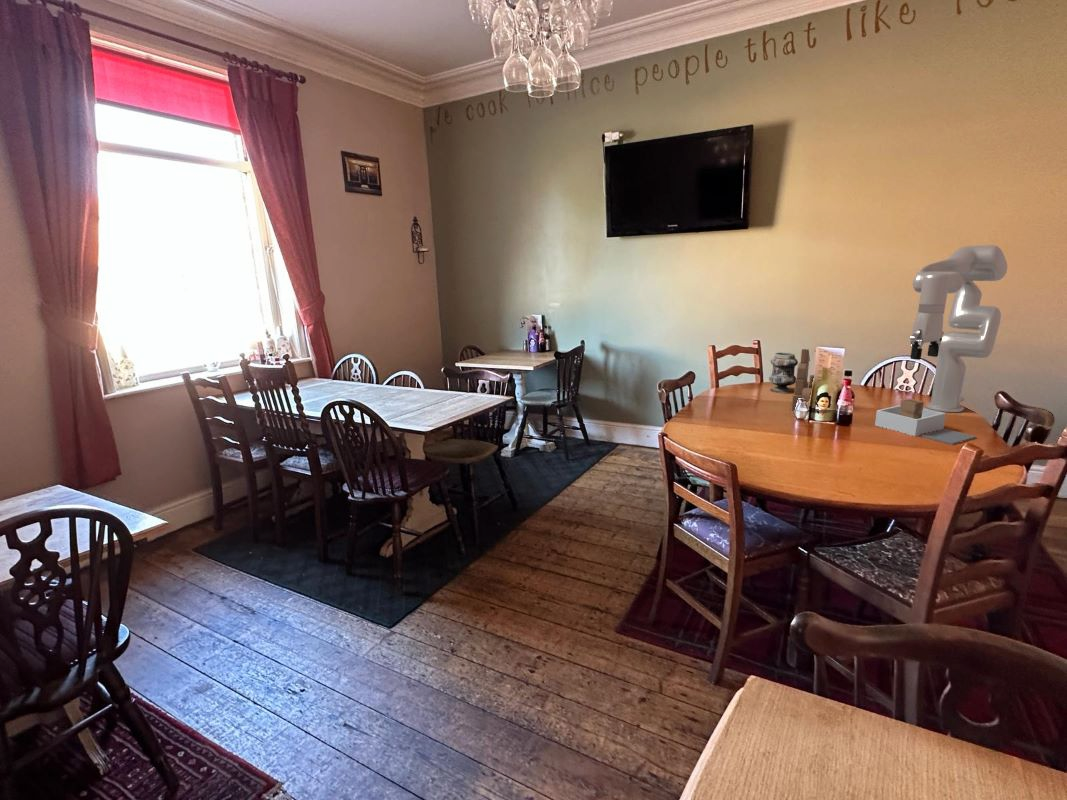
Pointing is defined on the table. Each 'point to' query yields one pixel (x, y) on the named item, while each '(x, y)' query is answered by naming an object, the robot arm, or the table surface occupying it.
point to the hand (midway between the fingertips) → (923, 357)
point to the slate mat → (948, 436)
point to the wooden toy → (802, 379)
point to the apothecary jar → (783, 372)
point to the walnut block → (911, 408)
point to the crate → (910, 421)
